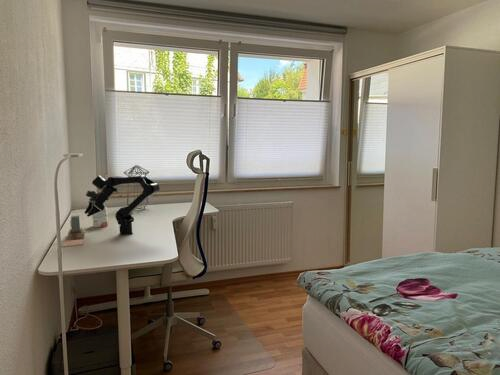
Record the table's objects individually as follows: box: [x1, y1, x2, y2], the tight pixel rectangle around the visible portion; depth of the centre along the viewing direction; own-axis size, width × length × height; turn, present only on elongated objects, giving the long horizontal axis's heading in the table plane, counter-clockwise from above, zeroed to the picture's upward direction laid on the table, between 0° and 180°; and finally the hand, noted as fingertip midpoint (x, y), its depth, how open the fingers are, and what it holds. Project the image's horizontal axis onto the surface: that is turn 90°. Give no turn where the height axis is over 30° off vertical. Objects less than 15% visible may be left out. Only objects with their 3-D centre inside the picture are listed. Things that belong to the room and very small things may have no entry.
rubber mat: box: [61, 238, 85, 248], centre depth 199 cm, size 10×10×1 cm
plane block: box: [67, 226, 85, 241], centre depth 212 cm, size 8×11×4 cm
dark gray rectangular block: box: [69, 214, 81, 233], centre depth 211 cm, size 5×4×9 cm
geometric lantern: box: [123, 165, 150, 212], centre depth 289 cm, size 16×16×35 cm
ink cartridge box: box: [91, 203, 109, 228], centre depth 237 cm, size 9×5×15 cm, turn 105°
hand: (86, 214), depth 214 cm, fingers open, 9 cm apart
